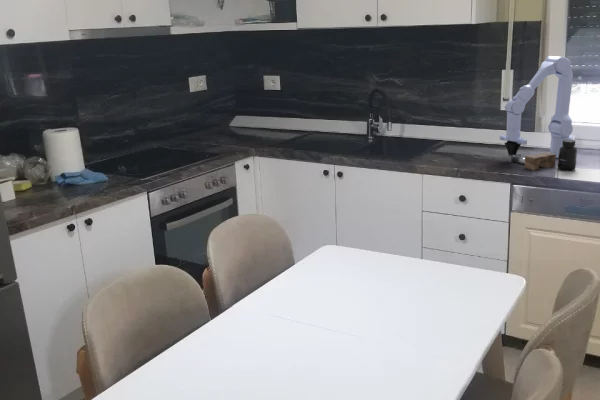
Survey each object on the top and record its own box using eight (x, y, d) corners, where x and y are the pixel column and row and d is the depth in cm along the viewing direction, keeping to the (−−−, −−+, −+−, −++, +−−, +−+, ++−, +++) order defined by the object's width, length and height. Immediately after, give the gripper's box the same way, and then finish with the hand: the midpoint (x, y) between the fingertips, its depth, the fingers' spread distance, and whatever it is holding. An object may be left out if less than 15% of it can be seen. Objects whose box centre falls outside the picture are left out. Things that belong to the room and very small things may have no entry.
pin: (509, 162, 272) (509, 155, 271) (518, 160, 274) (519, 153, 274) (524, 166, 264) (524, 158, 264) (534, 164, 267) (534, 156, 266)
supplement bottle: (557, 170, 254) (559, 142, 251) (557, 167, 260) (559, 138, 257) (575, 171, 252) (578, 142, 248) (575, 167, 258) (577, 139, 254)
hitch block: (546, 163, 266) (546, 152, 265) (555, 166, 262) (555, 154, 260) (524, 167, 261) (525, 156, 260) (533, 170, 257) (534, 158, 256)
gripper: (494, 126, 275) (493, 156, 279) (518, 131, 262) (516, 162, 266) (507, 124, 278) (505, 154, 282) (531, 129, 265) (529, 160, 269)
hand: (512, 158), depth 274 cm, fingers closed
